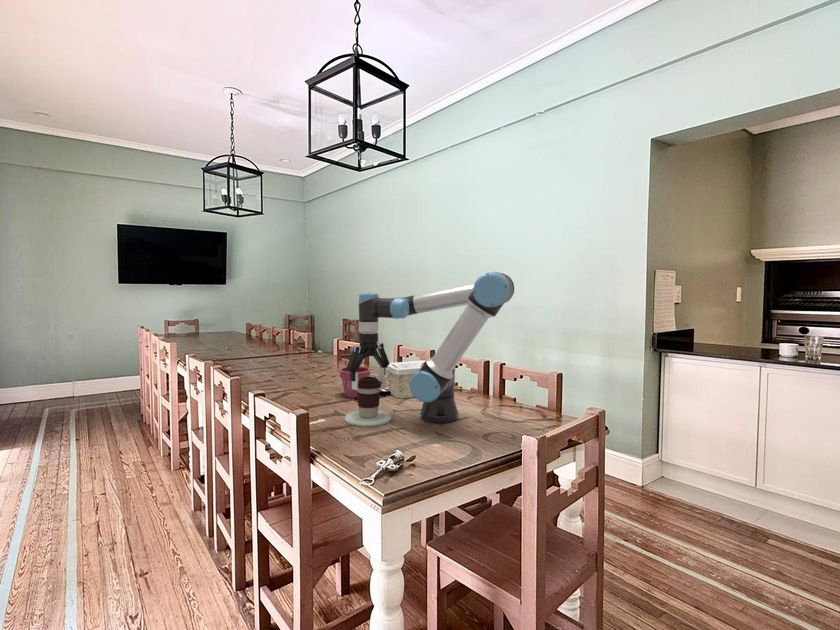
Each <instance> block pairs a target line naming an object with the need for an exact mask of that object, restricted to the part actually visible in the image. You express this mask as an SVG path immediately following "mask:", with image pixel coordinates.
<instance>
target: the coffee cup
mask: <svg viewBox="0 0 840 630" xmlns="http://www.w3.org/2000/svg"><path fill="white" fill-rule="evenodd" d="M381 387H382V384H381V382H380V381H379V378H378V377H376V376H370V377H362V378H360V380H359V381H358V391H357V398H356V399H357V407H358V411H359V416H360V417H362V418H374V417H377V415H378V410H379V406H380V399H381V398H380V396H381V389H380V388H381Z"/></svg>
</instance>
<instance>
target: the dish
mask: <svg viewBox="0 0 840 630" xmlns="http://www.w3.org/2000/svg"><path fill="white" fill-rule="evenodd" d="M344 421H346V422H347V424H348V425H350V424H351V425H350V426H354V425H355V427H360V426H364V427H363V428H366V427H367V428H369V427H371V428H372V427H380V426H383V425H386V424H388V423H390V422H391V421H392V415H391V414H390V413H389V412H387V411H385V410H379V409H378V415H377V417H374V418H362V417H360V416H359V410H354V411H351V412H348V413H347V414H345V416H344ZM346 422H345V423H346Z"/></svg>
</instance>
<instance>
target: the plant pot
mask: <svg viewBox="0 0 840 630" xmlns="http://www.w3.org/2000/svg"><path fill="white" fill-rule="evenodd" d="M346 368H347V366H344V367H342V368H339V378H340V379H341V382H342V387H343V391H344V392H343V393H344V396H345V397H346V398H349V399H356V398H355V397H357V391H358V390H354V389H352V381H351V380H350V372H348V371H346ZM356 373H358V381H359V380H360V378H362V377H371V370H370V368H369V367H366V366H361V365H360V366H359V368H358V370H357V371H356Z"/></svg>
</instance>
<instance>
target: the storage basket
mask: <svg viewBox="0 0 840 630" xmlns="http://www.w3.org/2000/svg"><path fill="white" fill-rule="evenodd" d="M425 361H426V360H413V361H411V360H410V361H401V362H399V361H397V362H389V363H390V364H389V365H388V367H387V368H385V372H386V376H387V384H388V392H389V391H390V392H391V393H390V395H392V396H394V397H395V398H397V399H398V400H401V399H403V400H405V399H411V398H415V397H414V396H413V395H412V393H411V391H410V380H411V378H412V376H413V375H414V374H415V373H416V372H418V371H419V370H420V368H421V367H422V365H423V364H424V362H425Z"/></svg>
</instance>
